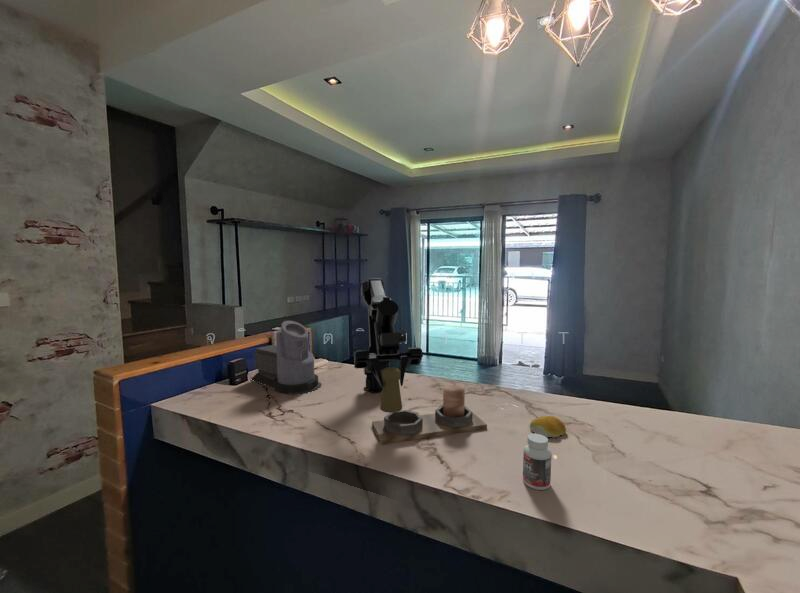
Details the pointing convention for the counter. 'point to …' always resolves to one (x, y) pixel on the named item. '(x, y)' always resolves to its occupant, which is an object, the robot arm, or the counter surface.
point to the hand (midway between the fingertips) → (392, 385)
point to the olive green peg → (391, 390)
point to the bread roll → (548, 426)
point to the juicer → (287, 362)
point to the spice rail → (430, 420)
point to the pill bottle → (537, 462)
